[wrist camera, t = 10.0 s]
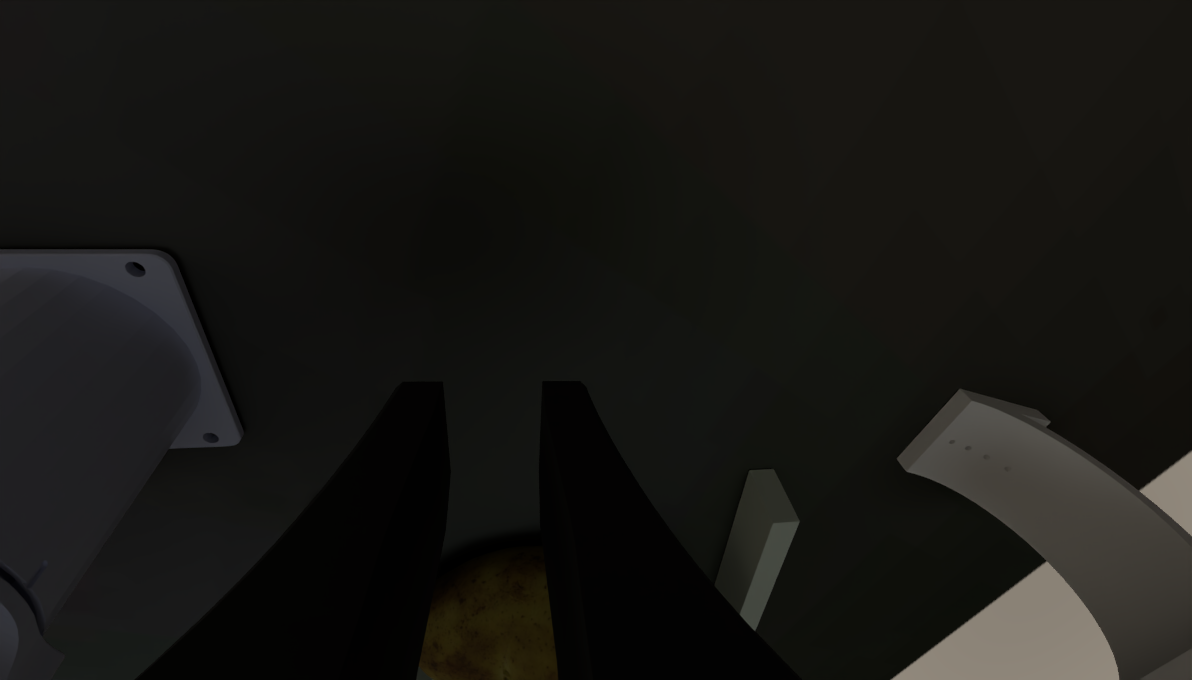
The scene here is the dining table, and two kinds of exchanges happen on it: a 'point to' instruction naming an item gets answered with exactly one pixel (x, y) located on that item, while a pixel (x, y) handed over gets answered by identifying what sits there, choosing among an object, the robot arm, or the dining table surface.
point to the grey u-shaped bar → (752, 547)
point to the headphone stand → (1072, 524)
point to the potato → (492, 620)
